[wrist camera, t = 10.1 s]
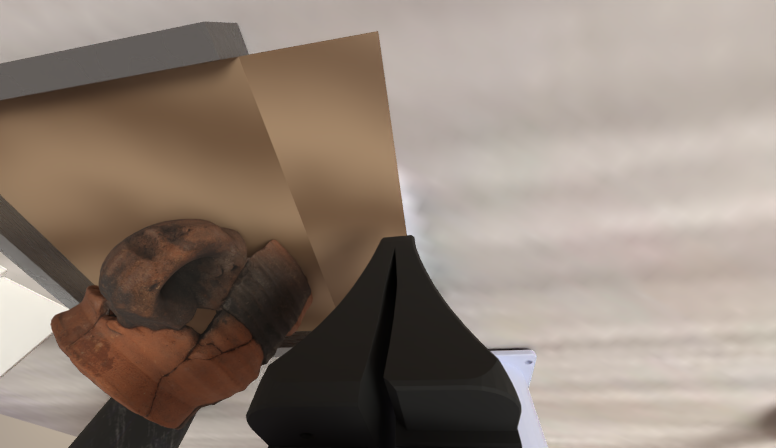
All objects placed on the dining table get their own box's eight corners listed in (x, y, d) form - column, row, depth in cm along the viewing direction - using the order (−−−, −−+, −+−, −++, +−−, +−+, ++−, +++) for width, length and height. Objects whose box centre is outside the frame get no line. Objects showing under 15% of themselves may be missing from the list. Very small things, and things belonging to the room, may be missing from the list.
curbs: (349, 328, 20) (343, 354, 18) (151, 336, 22) (131, 360, 21) (237, 23, 10) (204, 21, 9) (-102, 91, 12) (-181, 100, 11)
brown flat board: (417, 306, 20) (418, 326, 18) (164, 319, 22) (149, 337, 21) (380, 31, 11) (376, 31, 9) (-34, 107, 13) (-83, 115, 12)
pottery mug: (323, 328, 20) (216, 455, 15) (231, 255, 22) (111, 342, 17) (327, 220, 11) (51, 452, 6) (169, 113, 13) (-130, 212, 8)
